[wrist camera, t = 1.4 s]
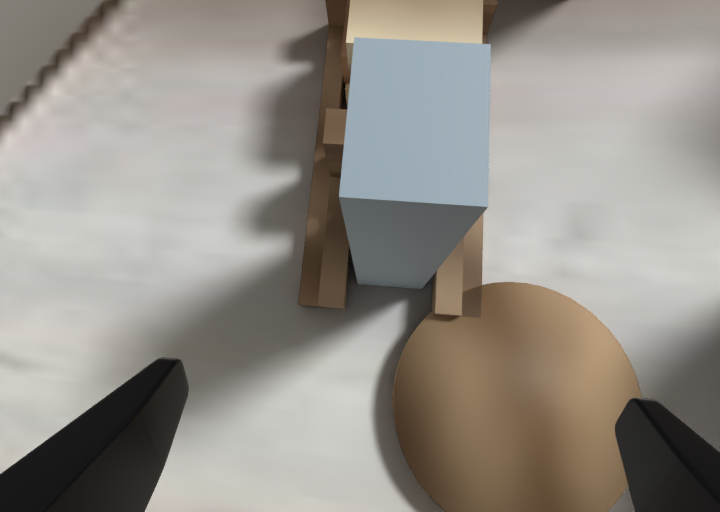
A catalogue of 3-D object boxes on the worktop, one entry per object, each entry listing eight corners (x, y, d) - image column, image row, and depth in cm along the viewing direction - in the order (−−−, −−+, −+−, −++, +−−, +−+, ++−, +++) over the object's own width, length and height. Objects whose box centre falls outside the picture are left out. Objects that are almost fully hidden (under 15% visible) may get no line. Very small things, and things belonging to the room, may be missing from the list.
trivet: (450, 573, 19) (454, 585, 18) (357, 334, 21) (357, 333, 20) (676, 475, 19) (692, 482, 18) (562, 252, 22) (570, 248, 21)
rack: (475, 319, 21) (507, 309, 16) (301, 305, 21) (280, 292, 16) (482, 28, 24) (510, -52, 20) (332, 21, 25) (323, -60, 20)
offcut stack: (457, 123, 23) (484, 49, 18) (345, 116, 24) (336, 42, 18) (459, 52, 24) (486, -40, 18) (351, 46, 24) (345, -46, 19)
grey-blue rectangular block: (421, 289, 21) (487, 206, 9) (357, 284, 22) (338, 196, 9) (425, 212, 22) (490, 44, 10) (364, 208, 22) (354, 37, 10)
